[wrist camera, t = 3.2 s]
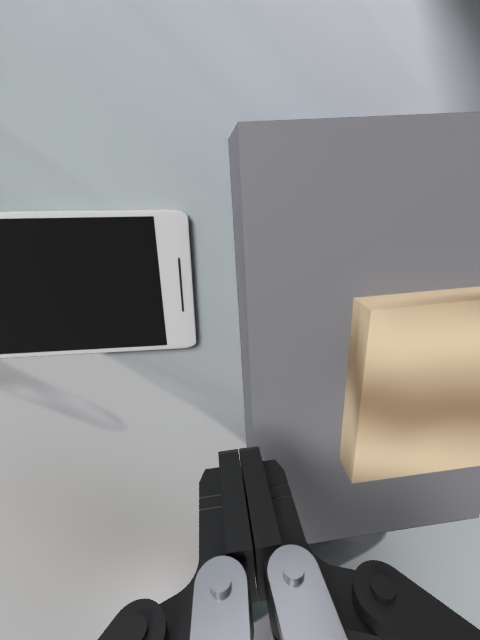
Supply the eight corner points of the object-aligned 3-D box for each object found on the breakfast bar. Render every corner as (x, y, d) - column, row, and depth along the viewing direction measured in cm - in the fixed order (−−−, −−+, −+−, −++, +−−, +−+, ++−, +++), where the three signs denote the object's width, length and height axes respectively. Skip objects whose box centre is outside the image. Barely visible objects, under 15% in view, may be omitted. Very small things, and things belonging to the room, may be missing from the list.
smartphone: (-170, 213, 14) (-195, 214, 13) (188, 208, 15) (187, 209, 15) (-102, 357, 17) (-118, 366, 16) (197, 340, 18) (196, 348, 17)
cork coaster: (353, 297, 13) (371, 310, 12) (549, 280, 14) (587, 289, 13) (339, 459, 17) (351, 483, 15) (497, 438, 18) (522, 459, 16)
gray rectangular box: (228, 139, 14) (237, 121, 10) (519, 125, 15) (619, 106, 12) (249, 492, 23) (259, 551, 19) (435, 466, 24) (478, 517, 20)
